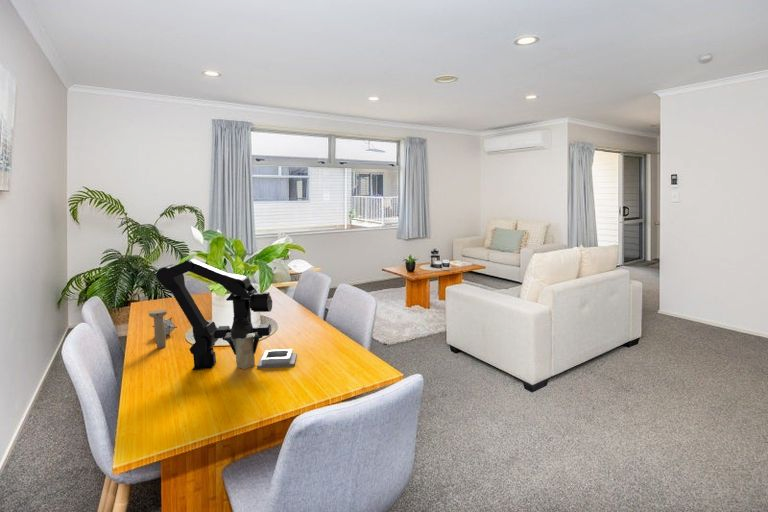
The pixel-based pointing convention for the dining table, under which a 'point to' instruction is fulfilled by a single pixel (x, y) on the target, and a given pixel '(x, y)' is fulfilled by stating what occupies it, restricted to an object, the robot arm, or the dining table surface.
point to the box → (245, 352)
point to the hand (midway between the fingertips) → (245, 353)
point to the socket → (277, 358)
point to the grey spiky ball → (168, 326)
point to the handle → (159, 327)
